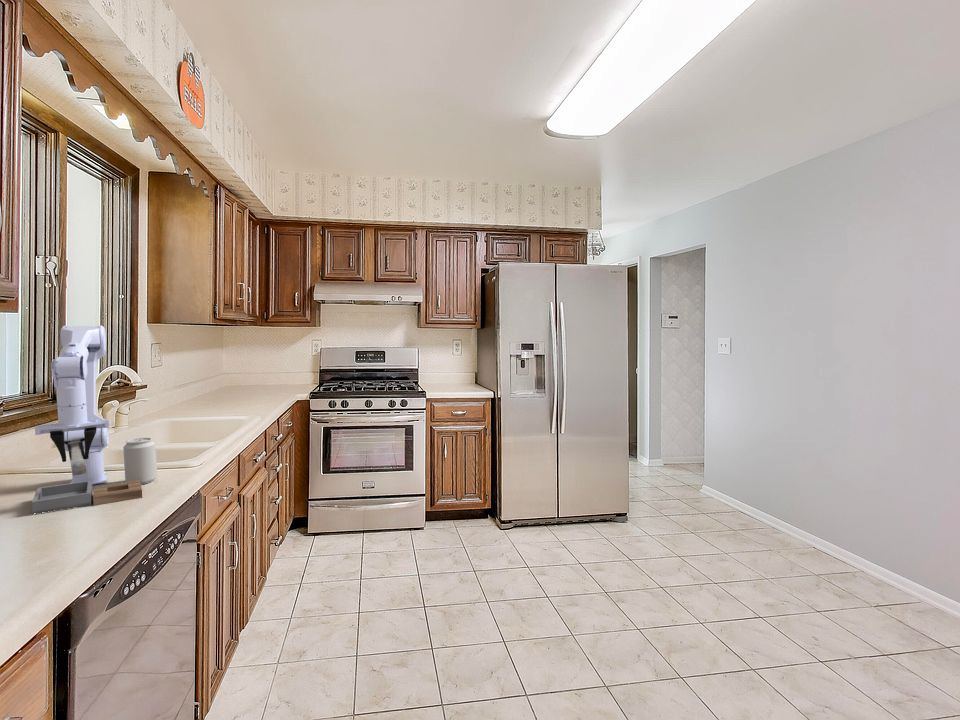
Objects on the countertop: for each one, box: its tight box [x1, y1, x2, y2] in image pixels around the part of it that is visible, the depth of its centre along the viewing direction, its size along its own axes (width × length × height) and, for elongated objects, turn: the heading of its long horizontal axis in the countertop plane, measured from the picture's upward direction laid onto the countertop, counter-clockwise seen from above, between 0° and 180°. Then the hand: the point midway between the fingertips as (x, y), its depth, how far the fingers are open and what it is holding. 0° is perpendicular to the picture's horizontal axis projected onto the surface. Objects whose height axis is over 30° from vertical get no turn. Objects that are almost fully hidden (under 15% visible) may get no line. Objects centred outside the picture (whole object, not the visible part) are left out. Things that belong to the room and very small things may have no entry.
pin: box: [64, 438, 87, 476], centre depth 133 cm, size 4×4×9 cm
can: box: [122, 437, 158, 485], centre depth 149 cm, size 8×8×12 cm
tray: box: [31, 480, 94, 515], centre depth 132 cm, size 13×11×3 cm
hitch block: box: [92, 480, 143, 506], centre depth 137 cm, size 10×10×2 cm
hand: (75, 459), depth 133 cm, fingers closed on pin, 4 cm apart
